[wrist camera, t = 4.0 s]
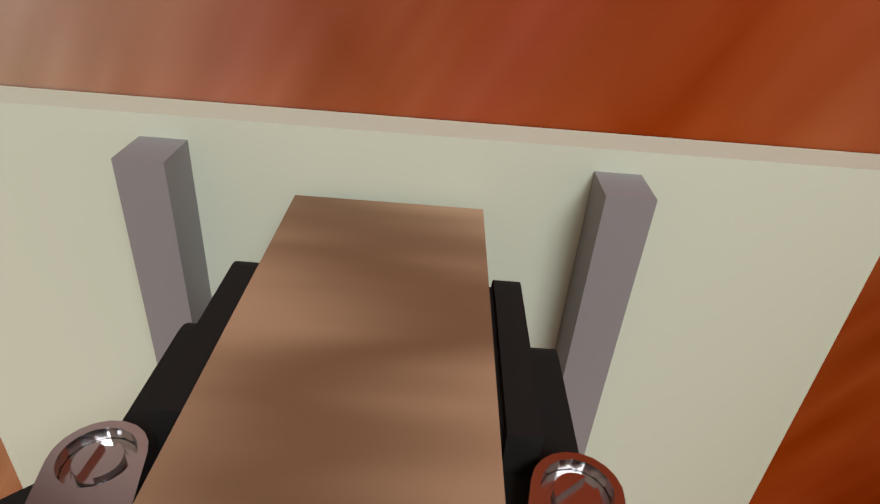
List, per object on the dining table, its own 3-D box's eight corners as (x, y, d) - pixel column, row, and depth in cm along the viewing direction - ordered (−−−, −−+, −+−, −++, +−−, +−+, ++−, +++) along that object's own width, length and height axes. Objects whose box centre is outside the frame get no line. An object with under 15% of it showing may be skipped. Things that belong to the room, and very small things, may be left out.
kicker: (530, 212, 13) (634, 697, 5) (498, 399, 16) (536, 891, 8) (247, 191, 13) (-68, 651, 5) (267, 383, 16) (83, 863, 8)
